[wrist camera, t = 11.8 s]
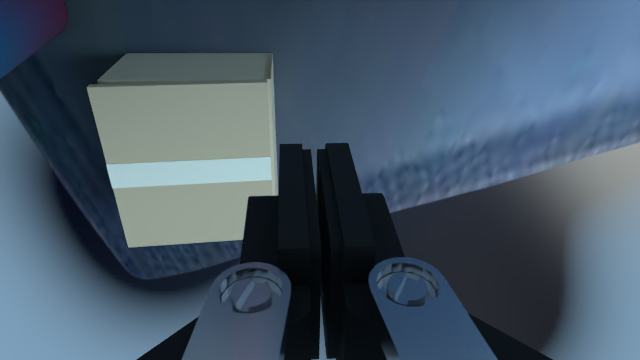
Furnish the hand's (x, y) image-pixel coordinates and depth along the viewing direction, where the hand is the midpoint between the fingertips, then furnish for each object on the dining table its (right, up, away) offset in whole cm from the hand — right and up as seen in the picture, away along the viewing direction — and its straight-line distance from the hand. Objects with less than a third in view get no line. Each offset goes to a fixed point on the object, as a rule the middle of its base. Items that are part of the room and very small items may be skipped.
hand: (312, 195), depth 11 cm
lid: (-11, +1, +29) cm, 31 cm away
